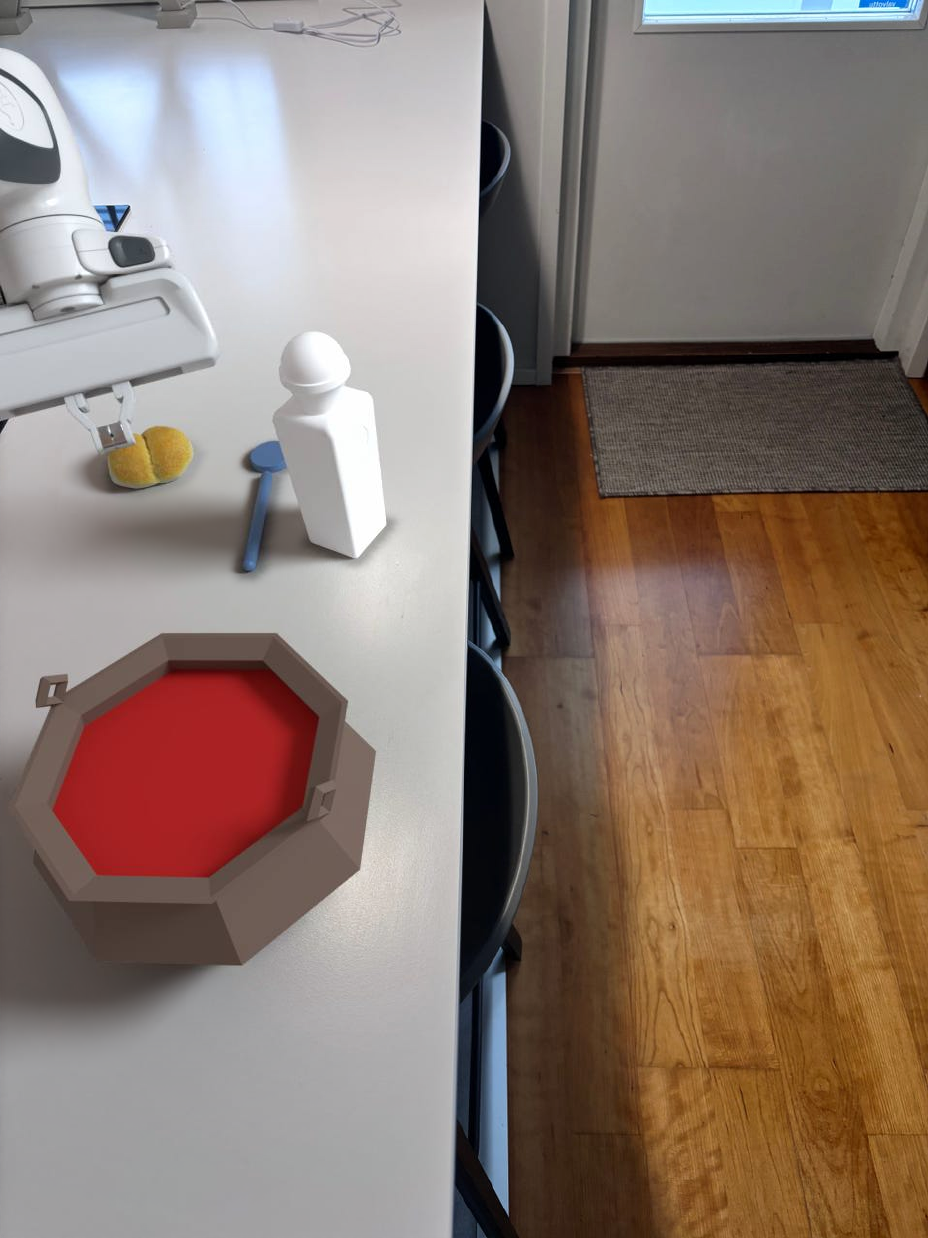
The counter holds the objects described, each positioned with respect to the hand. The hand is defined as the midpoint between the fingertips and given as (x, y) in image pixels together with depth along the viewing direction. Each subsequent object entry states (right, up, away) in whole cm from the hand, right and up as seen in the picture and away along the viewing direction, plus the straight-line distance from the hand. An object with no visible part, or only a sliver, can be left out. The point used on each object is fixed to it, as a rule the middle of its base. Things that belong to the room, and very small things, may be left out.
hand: (117, 448), depth 75 cm
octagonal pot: (+10, -31, -4) cm, 33 cm away
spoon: (+7, -1, +22) cm, 24 cm away
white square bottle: (+16, -5, +19) cm, 25 cm away
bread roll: (-6, +3, +27) cm, 28 cm away
